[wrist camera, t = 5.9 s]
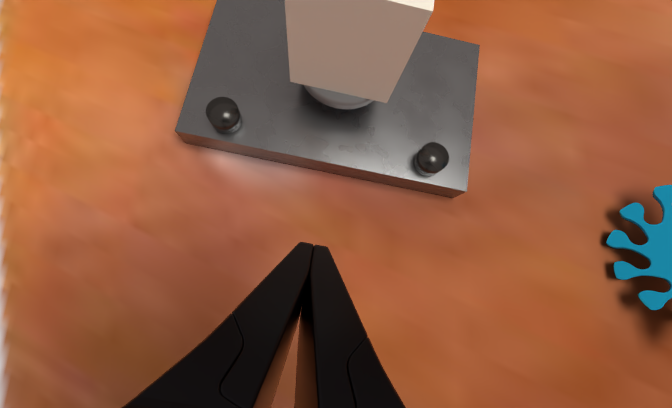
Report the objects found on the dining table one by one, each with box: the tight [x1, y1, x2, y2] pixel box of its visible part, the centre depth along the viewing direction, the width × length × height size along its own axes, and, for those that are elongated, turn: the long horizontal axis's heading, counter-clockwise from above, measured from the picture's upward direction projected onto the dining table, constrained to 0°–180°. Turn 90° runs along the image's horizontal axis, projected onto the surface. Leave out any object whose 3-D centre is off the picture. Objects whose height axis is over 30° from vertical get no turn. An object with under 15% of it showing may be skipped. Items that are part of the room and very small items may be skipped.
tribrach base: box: [175, 0, 480, 198], centre depth 23 cm, size 12×20×3 cm, turn 80°
